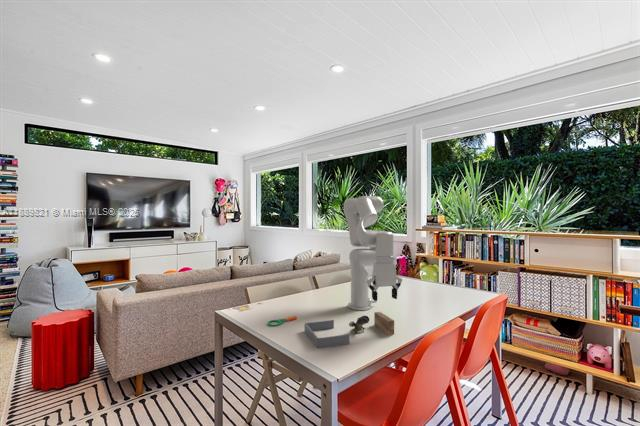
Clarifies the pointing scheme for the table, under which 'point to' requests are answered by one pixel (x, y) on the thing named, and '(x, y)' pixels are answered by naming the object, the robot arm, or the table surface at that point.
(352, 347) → the table surface
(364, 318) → the eagle figurine
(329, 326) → the grey bent bar
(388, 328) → the brown rectangular block
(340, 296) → the table surface
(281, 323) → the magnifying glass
